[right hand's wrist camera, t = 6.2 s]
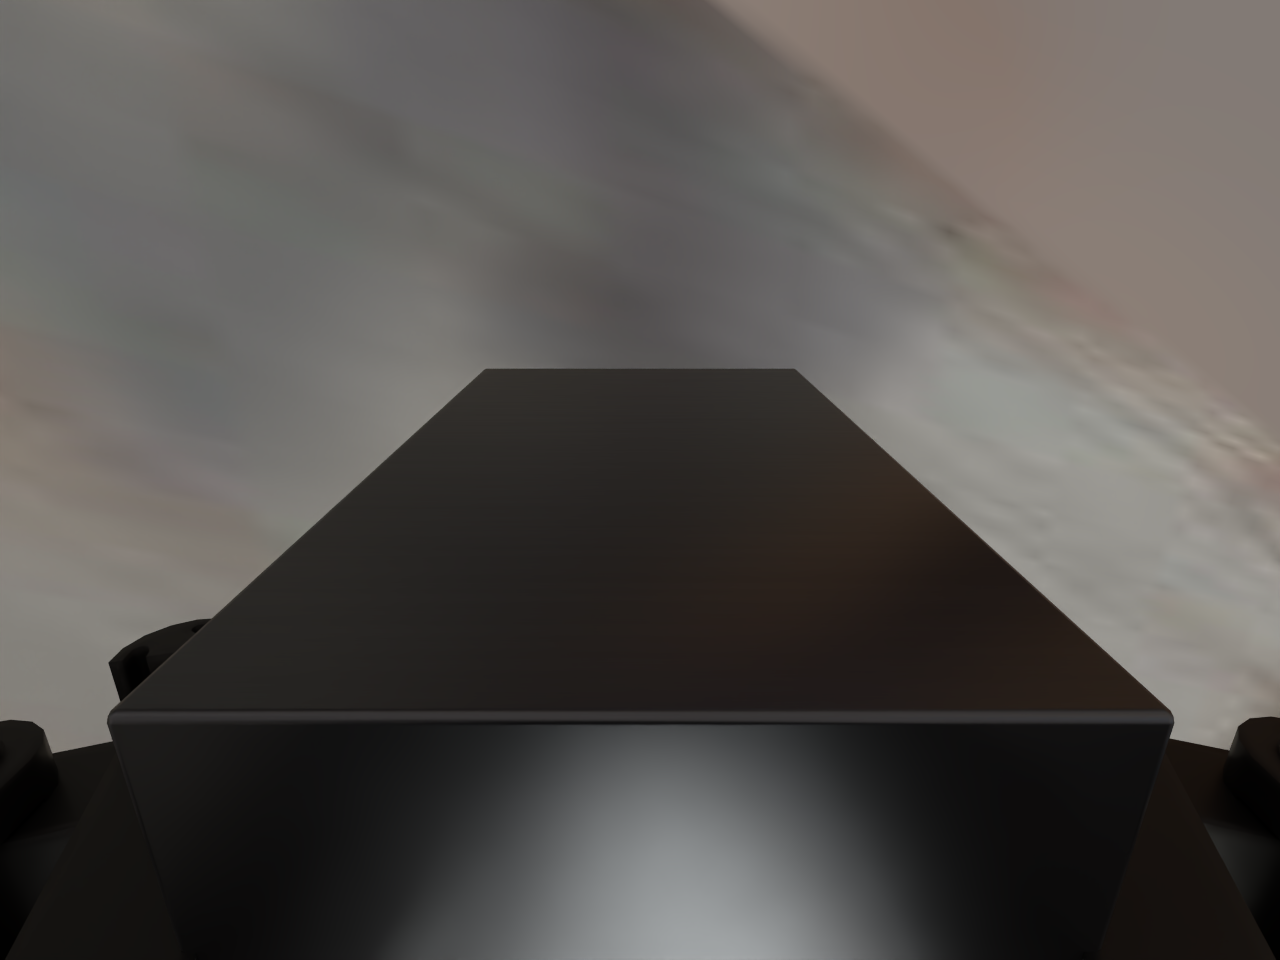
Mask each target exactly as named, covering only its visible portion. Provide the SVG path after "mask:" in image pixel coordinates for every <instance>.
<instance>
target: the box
mask: <svg viewBox="0 0 1280 960" xmlns="http://www.w3.org/2000/svg"><path fill="white" fill-rule="evenodd" d="M107 725H108V728H109V731H110V734H111V737H112V740H113V743H114V746H115V749H116V752H117V755H118V759H119V762H120V765H121V768H122V771H123V774H124V777H125V780H126V783H127V786H128V789H129V793H130V796H131V799H132V802H133V805H134V808H135V811H136V814H137V817H138V820H139V824H140V827H141V830H142V833H143V836H144V839H145V842H146V845H147V848H148V851H149V854H150V858H151V861H152V864H153V867H154V870H155V873H156V876H157V879H158V882H159V885H160V888H161V892H162V895H163V898H164V901H165V904H166V907H167V910H168V913H169V916H170V919H171V923H172V926H173V929H174V932H175V935H176V938H177V941H178V944H179V947H180V950H181V951H183V952H185V953H197V957H198V960H1082V957H1083V953H1084V952H1096V951H1098V950H1100V949H1101V948H1102V944H1103V941H1104V938H1105V935H1106V932H1107V929H1108V926H1109V923H1110V920H1111V917H1112V914H1113V911H1114V907H1115V904H1116V901H1117V898H1118V895H1119V892H1120V889H1121V886H1122V883H1123V880H1124V877H1125V874H1126V870H1127V867H1128V864H1129V861H1130V858H1131V855H1132V852H1133V849H1134V846H1135V843H1136V840H1137V836H1138V833H1139V830H1140V827H1141V824H1142V821H1143V818H1144V815H1145V812H1146V809H1147V806H1148V803H1149V799H1150V796H1151V793H1152V790H1153V787H1154V784H1155V781H1156V778H1157V775H1158V772H1159V769H1160V765H1161V762H1162V759H1163V756H1164V753H1165V750H1166V747H1167V744H1168V741H1169V738H1170V735H1171V732H1172V728H1173V725H1174V717H1173V715H1172V713H1171V711H1170V710H1169V709H1168V708H1167V707H1166V706H1165V705H1164V704H1162V703H1161V702H1160V701H1159V700H1158V699H1157V698H1156V697H1155V696H1154V695H1153V694H1151V693H1150V692H1149V691H1148V690H1147V689H1146V688H1145V687H1144V686H1143V685H1142V684H1140V683H1139V682H1138V681H1137V680H1136V679H1135V678H1134V677H1133V676H1132V675H1131V674H1130V673H1128V672H1127V671H1126V670H1125V669H1124V668H1123V667H1122V666H1121V665H1120V664H1119V663H1117V662H1116V661H1115V660H1114V659H1113V658H1112V657H1111V656H1110V655H1109V654H1108V653H1106V652H1105V651H1104V650H1103V649H1102V648H1101V647H1100V646H1099V645H1098V644H1097V643H1095V642H1094V641H1093V640H1092V639H1091V638H1090V637H1089V636H1088V635H1087V634H1086V633H1084V632H1083V631H1082V630H1081V629H1080V628H1079V627H1078V626H1077V625H1076V624H1075V623H1074V622H1072V621H1071V620H1070V619H1069V618H1068V617H1067V616H1066V615H1065V614H1064V613H1063V612H1061V611H1060V610H1059V609H1058V608H1057V607H1056V606H1055V605H1054V604H1053V603H1052V602H1050V601H1049V600H1048V599H1047V598H1046V597H1045V596H1044V595H1043V594H1042V593H1041V592H1039V591H1038V590H1037V589H1036V588H1035V587H1034V586H1033V585H1032V584H1031V583H1030V582H1028V581H1027V580H1026V579H1025V578H1024V577H1023V576H1022V575H1021V574H1020V573H1019V572H1018V571H1016V570H1015V569H1014V568H1013V567H1012V566H1011V565H1010V564H1009V563H1008V562H1007V561H1005V560H1004V559H1003V558H1002V557H1001V556H1000V555H999V554H998V553H997V552H996V551H994V550H993V549H992V548H991V547H990V546H989V545H988V544H987V543H986V542H985V541H983V540H982V539H981V538H980V537H979V536H978V535H977V534H976V533H975V532H974V531H972V530H971V529H970V528H969V527H968V526H967V525H966V524H965V523H964V522H963V521H962V520H960V519H959V518H958V517H957V516H956V515H955V514H954V513H953V512H952V511H951V510H949V509H948V508H947V507H946V506H945V505H944V504H943V503H942V502H941V501H940V500H938V499H937V498H936V497H935V496H934V495H933V494H932V493H931V492H930V491H929V490H927V489H926V488H925V487H924V486H923V485H922V484H921V483H920V482H919V481H918V480H916V479H915V478H914V477H913V476H912V475H911V474H910V473H909V472H908V471H907V470H906V469H904V468H903V467H902V466H901V465H900V464H899V463H898V462H897V461H896V460H895V459H893V458H892V457H891V456H890V455H889V454H888V453H887V452H886V451H885V450H884V449H882V448H881V447H880V446H879V445H878V444H877V443H876V442H875V441H874V440H873V439H871V438H870V437H869V436H868V435H867V434H866V433H865V432H864V431H863V430H862V429H860V428H859V427H858V426H857V425H856V424H855V423H854V422H853V421H852V420H851V419H850V418H848V417H847V416H846V415H845V414H844V413H843V412H842V411H841V410H840V409H839V408H837V407H836V406H835V405H834V404H833V403H832V402H831V401H830V400H829V399H828V398H826V397H825V396H824V395H823V394H822V393H821V392H820V391H819V390H818V389H817V388H815V387H814V386H813V385H812V384H811V383H810V382H809V381H808V380H807V379H806V378H804V377H803V376H802V375H801V374H800V373H799V372H798V371H797V370H795V369H485V370H484V371H482V372H481V373H480V374H479V375H478V376H477V377H476V378H475V379H474V380H473V381H472V382H470V383H469V384H468V385H467V386H466V387H465V388H464V389H463V390H462V391H461V392H459V393H458V394H457V395H456V396H455V397H454V398H453V399H452V400H451V401H450V402H449V403H447V404H446V405H445V406H444V407H443V408H442V409H441V410H440V411H439V412H438V413H436V414H435V415H434V416H433V417H432V418H431V419H430V420H429V421H428V422H427V423H426V424H424V425H423V426H422V427H421V428H420V429H419V430H418V431H417V432H416V433H415V434H413V435H412V436H411V437H410V438H409V439H408V440H407V441H406V442H405V443H404V444H403V445H401V446H400V447H399V448H398V449H397V450H396V451H395V452H394V453H393V454H392V455H390V456H389V457H388V458H387V459H386V460H385V461H384V462H383V463H382V464H381V465H380V466H378V467H377V468H376V469H375V470H374V471H373V472H372V473H371V474H370V475H369V476H367V477H366V478H365V479H364V480H363V481H362V482H361V483H360V484H359V485H358V486H356V487H355V488H354V489H353V490H352V491H351V492H350V493H349V494H348V495H347V496H346V497H344V498H343V499H342V500H341V501H340V502H339V503H338V504H337V505H336V506H335V507H333V508H332V509H331V510H330V511H329V512H328V513H327V514H326V515H325V516H324V517H323V518H321V519H320V520H319V521H318V522H317V523H316V524H315V525H314V526H313V527H312V528H310V529H309V530H308V531H307V532H306V533H305V534H304V535H303V536H302V537H301V538H300V539H298V540H297V541H296V542H295V543H294V544H293V545H292V546H291V547H290V548H289V549H287V550H286V551H285V552H284V553H283V554H282V555H281V556H280V557H279V558H278V559H277V560H275V561H274V562H273V563H272V564H271V565H270V566H269V567H268V568H267V569H266V570H264V571H263V572H262V573H261V574H260V575H259V576H258V577H257V578H256V579H255V580H254V581H252V582H251V583H250V584H249V585H248V586H247V587H246V588H245V589H244V590H243V591H241V592H240V593H239V594H238V595H237V596H236V597H235V598H234V599H233V600H232V601H231V602H229V603H228V604H227V605H226V606H225V607H224V608H223V609H222V610H221V611H220V612H218V613H217V614H216V615H215V616H214V617H213V618H212V619H211V620H210V621H209V622H208V623H206V624H205V625H204V626H203V627H202V628H201V629H200V630H199V631H198V632H197V633H195V634H194V635H193V636H192V637H191V638H190V639H189V640H188V641H187V642H186V643H185V644H183V645H182V646H181V647H180V648H179V649H178V650H177V651H176V652H175V653H174V654H172V655H171V656H170V657H169V658H168V659H167V660H166V661H165V662H164V663H163V664H162V665H160V666H159V667H158V668H157V669H156V670H155V671H154V672H153V673H152V674H151V675H149V676H148V677H147V678H146V679H145V680H144V681H143V682H142V683H141V684H140V685H138V686H137V687H136V688H135V689H134V690H133V691H132V692H131V693H130V694H129V695H128V696H126V697H125V698H124V699H123V700H122V701H121V702H120V703H119V704H118V705H117V706H115V707H114V708H113V709H112V710H111V711H110V713H109V715H108V719H107Z"/></svg>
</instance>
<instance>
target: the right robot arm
mask: <svg viewBox="0 0 1280 960" xmlns="http://www.w3.org/2000/svg"><path fill="white" fill-rule="evenodd" d="M210 620H211V619H199V620H194V621H189V622H185V623H180V624H176V625H172V626H169V627H166V628H163V629H161V630H158V631H156V632H153V633H150V634H148V635H145V636H143V637H142V638H140V639H138V640H136V641H135V642H133V643H131V644H130V645H128V646H126V647H124V648H123V649H122V650H121V651H120V652H119V653H118V654H117V655H116V656H115V657H114V658H113V659H112V660H111V661H110V662H109V666H110V669H111V673H112V676H113V679H114V682H115V685H116V689H117V692H118V695H119V698H120V701H122V700H123V699H124V698H125V697H126V696H128V695H129V694H130V693H131V692H132V691H133V690H134V689H135V688H136V687H137V686H138V685H140V684H141V683H142V682H143V681H144V680H145V679H146V678H147V677H148V676H149V675H151V674H152V673H153V672H154V671H155V670H156V669H157V668H158V667H159V666H160V665H162V664H163V663H164V662H165V661H166V660H167V659H168V658H169V657H170V656H171V655H172V654H174V653H175V652H176V651H177V650H178V649H179V648H180V647H181V646H182V645H183V644H185V643H186V642H187V641H188V640H189V639H190V638H191V637H192V636H193V635H194V634H195V633H197V632H198V631H199V630H200V629H201V628H202V627H203V626H204V625H205V624H206V623H208V622H209V621H210ZM0 960H198V957H197V953H185V952H183V951H181V950H180V947H179V944H178V941H177V938H176V935H175V932H174V929H173V926H172V923H171V919H170V916H169V913H168V910H167V907H166V904H165V901H164V898H163V895H162V892H161V888H160V885H159V882H158V879H157V876H156V873H155V870H154V867H153V864H152V861H151V858H150V854H149V851H148V848H147V845H146V842H145V839H144V836H143V833H142V830H141V827H140V824H139V820H138V817H137V814H136V811H135V808H134V805H133V802H132V799H131V796H130V793H129V789H128V786H127V783H126V780H125V777H124V774H123V771H122V768H121V765H120V762H119V759H118V755H117V752H116V749H115V746H114V743H113V741H112V742H107V743H102V744H97V745H92V746H87V747H82V748H78V749H73V750H68V751H63V752H58V753H53V754H52V752H51V749H50V746H49V743H48V741H47V738H46V735H45V732H44V730H43V729H42V728H41V727H39V726H38V725H36V724H35V723H33V722H30V721H19V720H7V721H0ZM1082 960H1280V718H1276V717H1261V718H1250V719H1248V720H1247V721H1245V722H1244V723H1242V724H1241V725H1240V726H1238V729H1237V732H1236V734H1235V737H1234V740H1233V743H1232V745H1231V748H1230V751H1229V750H1224V749H1219V748H1214V747H1209V746H1204V745H1199V744H1194V743H1189V742H1184V741H1179V740H1174V739H1169V741H1168V744H1167V747H1166V750H1165V753H1164V756H1163V759H1162V762H1161V765H1160V769H1159V772H1158V775H1157V778H1156V781H1155V784H1154V787H1153V790H1152V793H1151V796H1150V799H1149V803H1148V806H1147V809H1146V812H1145V815H1144V818H1143V821H1142V824H1141V827H1140V830H1139V833H1138V836H1137V840H1136V843H1135V846H1134V849H1133V852H1132V855H1131V858H1130V861H1129V864H1128V867H1127V870H1126V874H1125V877H1124V880H1123V883H1122V886H1121V889H1120V892H1119V895H1118V898H1117V901H1116V904H1115V907H1114V911H1113V914H1112V917H1111V920H1110V923H1109V926H1108V929H1107V932H1106V935H1105V938H1104V941H1103V944H1102V948H1101V949H1100V950H1098V951H1096V952H1084V953H1083V957H1082Z"/></svg>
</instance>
